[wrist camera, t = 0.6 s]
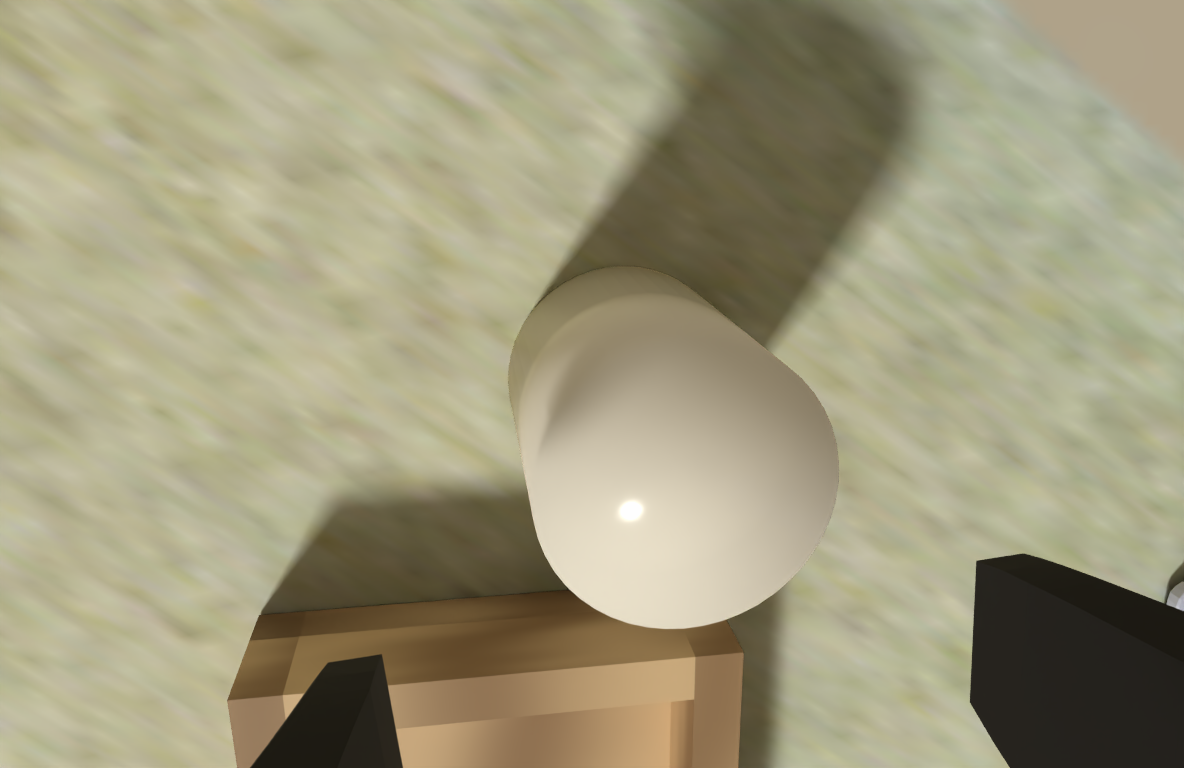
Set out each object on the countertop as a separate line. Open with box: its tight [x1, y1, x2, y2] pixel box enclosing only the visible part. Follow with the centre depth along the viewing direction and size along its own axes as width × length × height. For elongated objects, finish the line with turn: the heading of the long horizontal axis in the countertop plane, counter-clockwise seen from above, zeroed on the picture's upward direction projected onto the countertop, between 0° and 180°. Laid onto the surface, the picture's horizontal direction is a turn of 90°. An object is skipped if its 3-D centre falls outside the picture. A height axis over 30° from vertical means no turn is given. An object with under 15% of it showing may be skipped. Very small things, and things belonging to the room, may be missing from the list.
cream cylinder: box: [508, 266, 839, 629], centre depth 17 cm, size 5×5×6 cm
